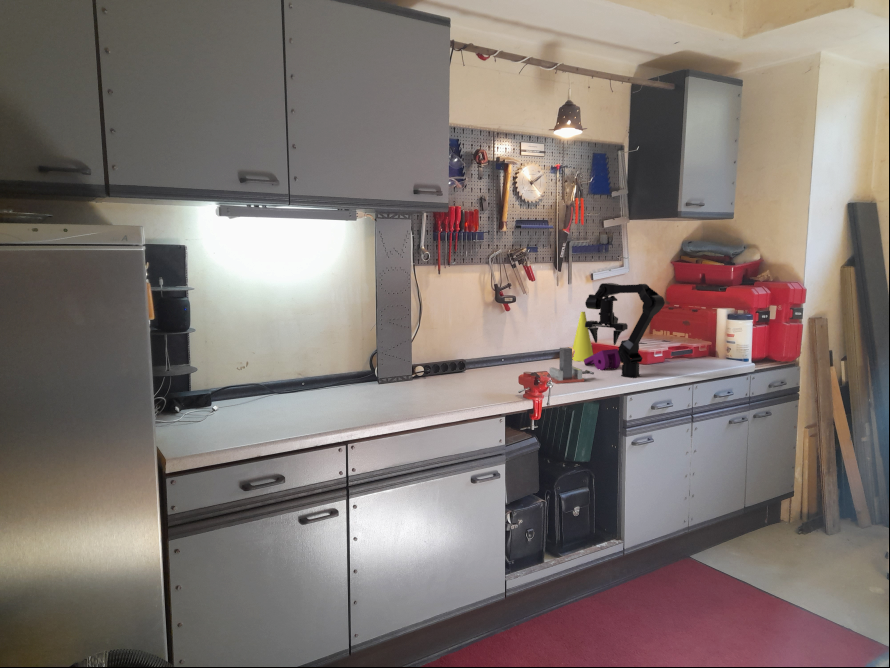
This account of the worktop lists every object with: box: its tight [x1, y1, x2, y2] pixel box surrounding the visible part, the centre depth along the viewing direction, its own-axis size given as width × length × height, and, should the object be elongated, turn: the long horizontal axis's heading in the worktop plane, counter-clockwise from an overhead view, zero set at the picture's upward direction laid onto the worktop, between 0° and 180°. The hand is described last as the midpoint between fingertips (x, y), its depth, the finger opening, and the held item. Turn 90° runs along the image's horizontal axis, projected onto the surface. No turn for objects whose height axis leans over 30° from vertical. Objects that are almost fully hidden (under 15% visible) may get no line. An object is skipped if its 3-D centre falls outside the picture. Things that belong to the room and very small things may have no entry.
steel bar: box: [558, 346, 573, 379], centre depth 253 cm, size 4×4×13 cm
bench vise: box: [549, 365, 595, 384], centre depth 254 cm, size 18×9×5 cm, turn 105°
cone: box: [572, 311, 594, 362], centre depth 305 cm, size 12×12×25 cm
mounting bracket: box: [583, 348, 622, 371], centre depth 284 cm, size 9×8×18 cm
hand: (605, 343), depth 272 cm, fingers open, 9 cm apart
